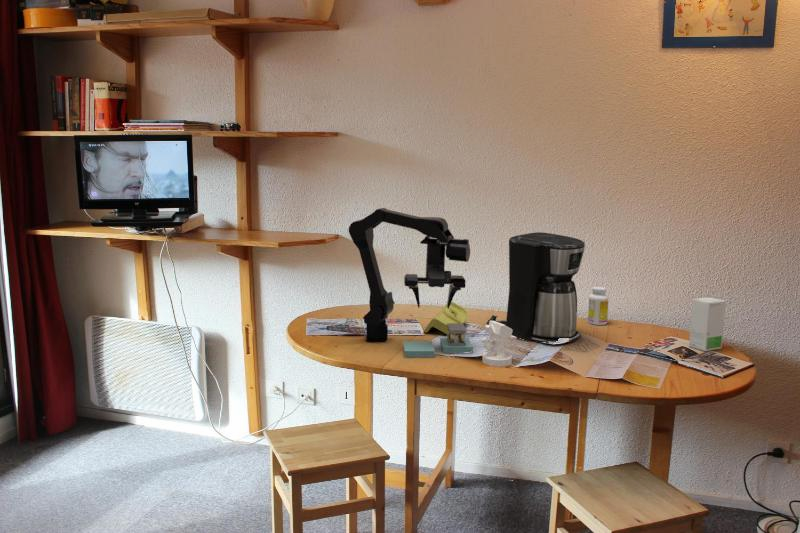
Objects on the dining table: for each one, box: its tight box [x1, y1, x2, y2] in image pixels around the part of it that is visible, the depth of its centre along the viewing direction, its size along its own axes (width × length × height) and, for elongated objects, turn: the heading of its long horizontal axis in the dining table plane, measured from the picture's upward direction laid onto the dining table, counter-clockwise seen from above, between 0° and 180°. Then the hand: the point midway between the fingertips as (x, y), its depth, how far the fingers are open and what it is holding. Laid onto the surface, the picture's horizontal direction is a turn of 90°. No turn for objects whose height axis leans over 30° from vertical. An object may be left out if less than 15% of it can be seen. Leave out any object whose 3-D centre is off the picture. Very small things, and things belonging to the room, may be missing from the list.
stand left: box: [402, 340, 436, 359], centre depth 207 cm, size 9×10×2 cm
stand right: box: [439, 336, 474, 354], centre depth 211 cm, size 9×10×2 cm
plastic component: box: [423, 300, 469, 336], centre depth 234 cm, size 20×7×10 cm
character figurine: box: [481, 320, 517, 368], centre depth 198 cm, size 9×10×12 cm
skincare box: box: [688, 297, 727, 352], centre depth 213 cm, size 8×7×16 cm
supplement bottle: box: [587, 286, 609, 326], centre depth 240 cm, size 7×7×13 cm
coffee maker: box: [486, 231, 586, 343], centre depth 224 cm, size 23×32×34 cm
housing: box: [446, 323, 467, 346], centre depth 210 cm, size 5×8×5 cm, turn 2°
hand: (433, 307), depth 212 cm, fingers open, 9 cm apart
